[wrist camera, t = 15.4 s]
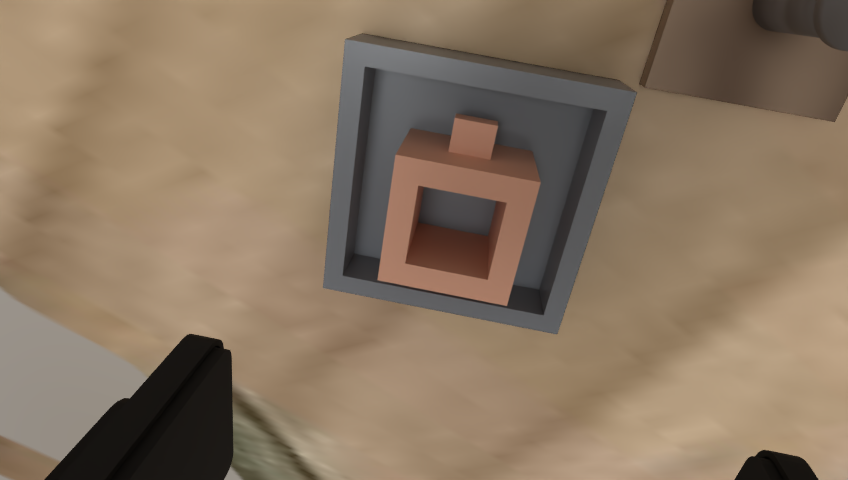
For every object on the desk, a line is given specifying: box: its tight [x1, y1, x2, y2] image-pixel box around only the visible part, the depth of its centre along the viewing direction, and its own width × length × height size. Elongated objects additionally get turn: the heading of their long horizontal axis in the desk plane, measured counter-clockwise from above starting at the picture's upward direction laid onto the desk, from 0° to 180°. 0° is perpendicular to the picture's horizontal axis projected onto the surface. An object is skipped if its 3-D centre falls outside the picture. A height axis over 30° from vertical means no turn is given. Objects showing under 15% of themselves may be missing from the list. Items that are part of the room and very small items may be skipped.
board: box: [640, 0, 848, 122], centre depth 21 cm, size 9×9×7 cm
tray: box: [323, 34, 637, 334], centre depth 28 cm, size 13×13×4 cm
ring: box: [378, 113, 541, 306], centre depth 26 cm, size 6×8×5 cm
